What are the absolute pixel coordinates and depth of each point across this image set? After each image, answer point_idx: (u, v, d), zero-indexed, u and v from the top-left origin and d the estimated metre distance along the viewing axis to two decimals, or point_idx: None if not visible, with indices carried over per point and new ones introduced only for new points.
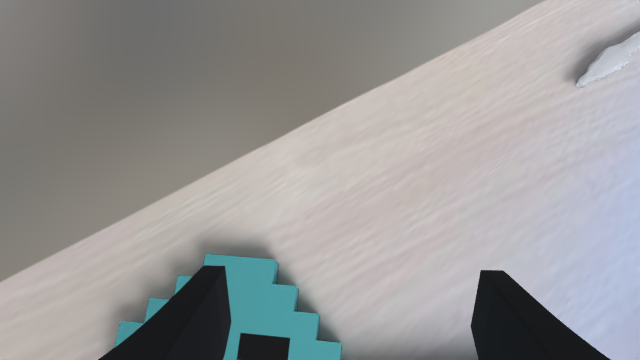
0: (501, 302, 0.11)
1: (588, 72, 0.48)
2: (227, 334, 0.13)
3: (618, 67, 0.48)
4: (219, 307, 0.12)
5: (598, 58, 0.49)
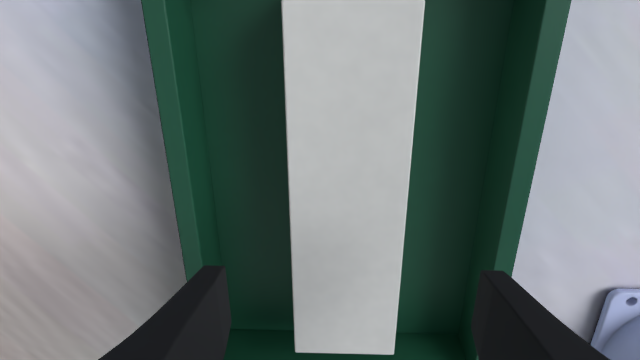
0: (501, 302, 0.11)
1: None
2: (227, 334, 0.13)
3: None
4: (219, 307, 0.12)
5: None
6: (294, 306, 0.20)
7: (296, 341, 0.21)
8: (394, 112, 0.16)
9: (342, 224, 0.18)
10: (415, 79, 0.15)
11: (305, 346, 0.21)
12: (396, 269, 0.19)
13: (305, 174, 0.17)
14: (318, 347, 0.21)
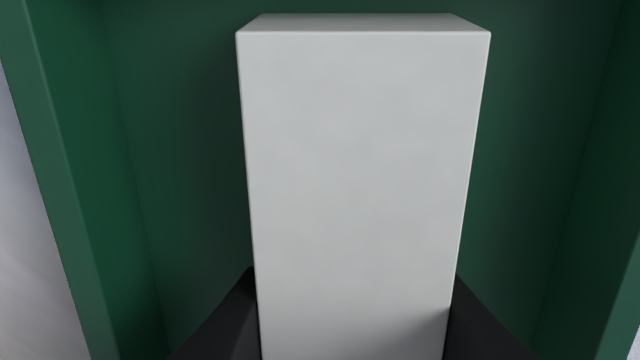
0: None
1: None
2: None
3: None
4: None
5: None
6: None
7: None
8: (431, 213, 0.10)
9: None
10: (467, 163, 0.09)
11: None
12: None
13: (285, 302, 0.11)
14: None
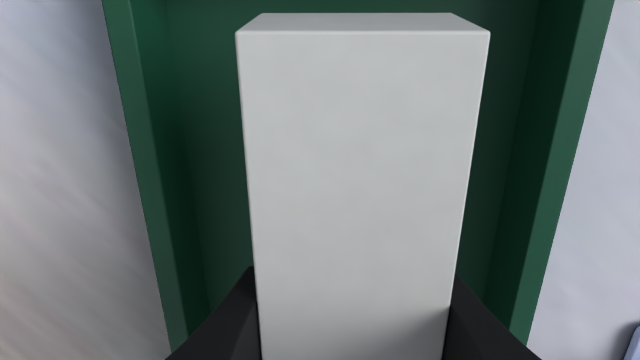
0: None
1: None
2: None
3: None
4: None
5: None
6: None
7: None
8: (430, 212, 0.10)
9: None
10: (466, 163, 0.09)
11: None
12: None
13: (285, 301, 0.11)
14: None
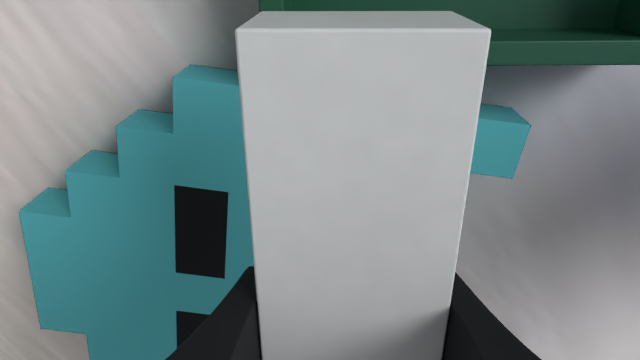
0: None
1: None
2: None
3: None
4: None
5: None
6: None
7: None
8: (430, 211, 0.09)
9: None
10: (467, 161, 0.09)
11: None
12: None
13: (285, 300, 0.11)
14: None
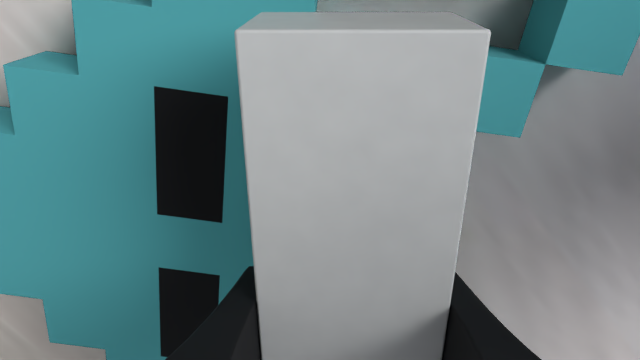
0: None
1: None
2: None
3: None
4: None
5: None
6: None
7: None
8: (430, 212, 0.09)
9: None
10: (467, 162, 0.09)
11: None
12: None
13: (284, 302, 0.11)
14: None
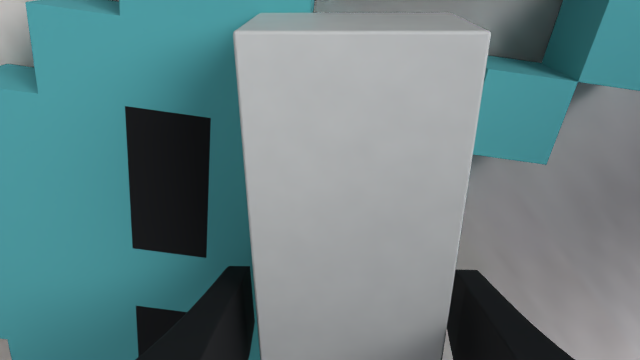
0: (472, 301, 0.11)
1: None
2: (251, 334, 0.13)
3: None
4: (245, 307, 0.12)
5: None
6: None
7: None
8: (430, 214, 0.09)
9: None
10: (466, 164, 0.09)
11: None
12: None
13: (284, 303, 0.11)
14: None
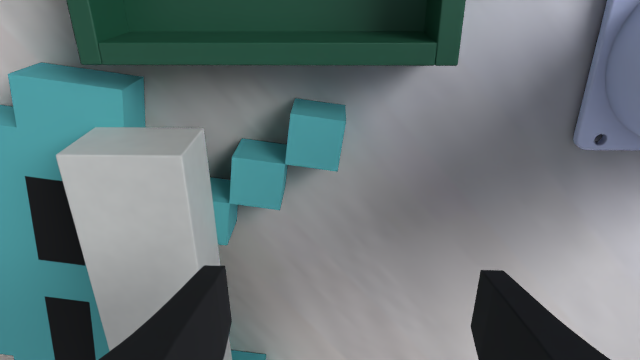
0: (501, 302, 0.11)
1: None
2: (227, 334, 0.13)
3: None
4: (219, 307, 0.12)
5: None
6: None
7: None
8: (176, 243, 0.17)
9: None
10: (188, 218, 0.17)
11: None
12: None
13: (108, 292, 0.19)
14: None
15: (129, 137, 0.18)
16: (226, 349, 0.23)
